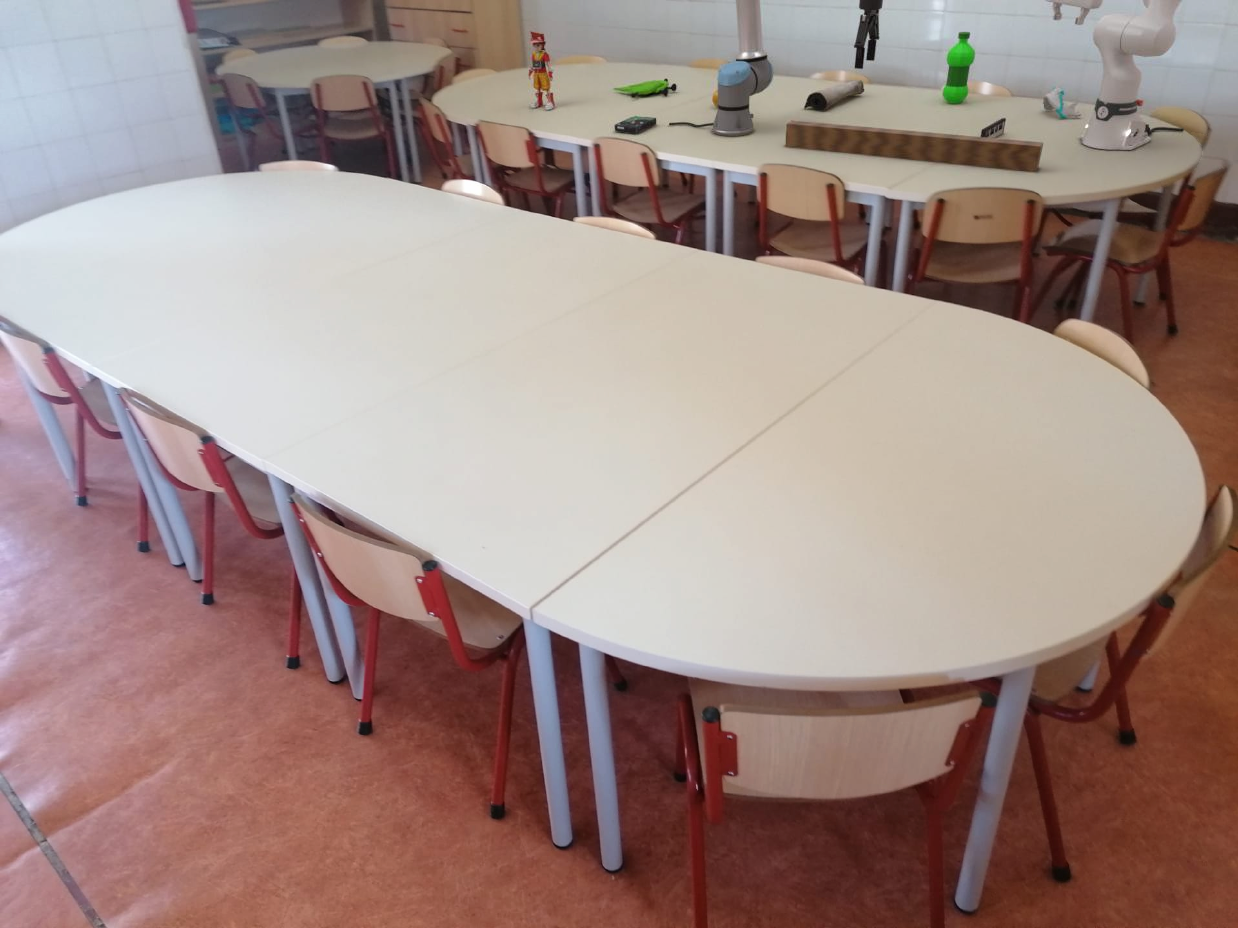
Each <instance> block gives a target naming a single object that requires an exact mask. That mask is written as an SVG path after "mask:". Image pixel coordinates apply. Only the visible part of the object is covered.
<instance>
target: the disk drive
mask: <svg viewBox="0 0 1238 928" xmlns="http://www.w3.org/2000/svg"><path fill="white" fill-rule="evenodd" d="M656 125H657V117H652V116H651V117H650V116H637V115H633V116H630V117H628V118H626V119H624V120H621V121H619V122H618V123H615V124H614V132H617V133H618V132H619V133H626V134H635V135H637V134H639V133H642V132H644V131H646V130H647V129H651V128H653V127H654V126H656Z"/></svg>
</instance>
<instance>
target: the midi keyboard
mask: <svg viewBox="0 0 1238 928" xmlns="http://www.w3.org/2000/svg"><path fill="white" fill-rule="evenodd" d="M1006 120H1007V117H1002V118H1000V119H998V120H996V121H995V122H993V123H991V124H989V125H988V126H986V127H983V128H982V129H981V131H980V137H987V138H996V137H999V136H1000V135H1002V134H1004V131H1005V127H1006Z"/></svg>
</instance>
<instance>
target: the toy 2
mask: <svg viewBox="0 0 1238 928" xmlns="http://www.w3.org/2000/svg"><path fill="white" fill-rule="evenodd" d="M669 85H670V83H669V79H668V78H664V79H663V80H649V81H644V82H640V83H634V84H629V85H627V86H621V87H613V88H612V89H613V90H616V91H619V92H623V93H627V94H628V93H629V94H631V95H630V96H631V98H632V99H634V98H636V96H637V95H650V94H652V93H654V94H658V93H662V95H663V96H665V97H667V96H668V95H669V90H671V91H672V92H676V91H677V84H676V83H672V84H671V86H669Z"/></svg>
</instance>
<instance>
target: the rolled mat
mask: <svg viewBox="0 0 1238 928" xmlns="http://www.w3.org/2000/svg"><path fill="white" fill-rule="evenodd" d="M864 87H865V85H864V82H863V80H858V79H851V80H846V81H843V82H840V83H838V84H835V85H832V86H829V87H826V88H823V89H820V90H817V91H814V92H812V93H810V94H809V95H808V96H807V98H806V100H805V101H806V102H805V104H804V107H803V108H804V110H806V109H807V108H813V109H814V110H816V111H820V112H824V111H826V110H827V109H828V108H830V107H831V106H832V105H834V104H836V103H837V102H838V101H840V100H842V99H844V98H845V97H848V96H858V95H862V94H863V93H864V92H865V88H864Z"/></svg>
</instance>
